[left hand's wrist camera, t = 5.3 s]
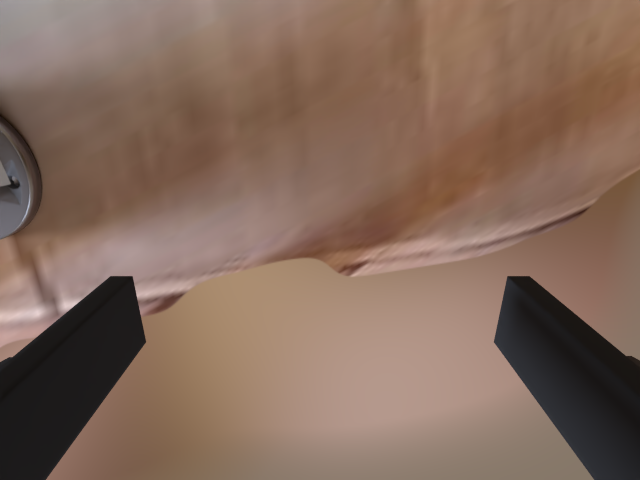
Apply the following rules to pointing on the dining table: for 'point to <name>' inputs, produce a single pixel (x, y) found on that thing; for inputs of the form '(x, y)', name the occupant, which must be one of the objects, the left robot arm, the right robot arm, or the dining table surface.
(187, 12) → the dining table surface
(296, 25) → the dining table surface
